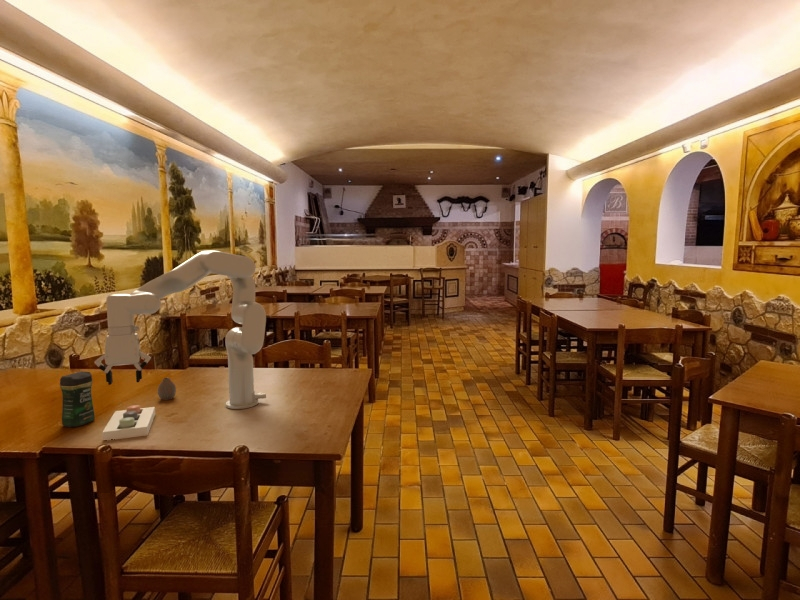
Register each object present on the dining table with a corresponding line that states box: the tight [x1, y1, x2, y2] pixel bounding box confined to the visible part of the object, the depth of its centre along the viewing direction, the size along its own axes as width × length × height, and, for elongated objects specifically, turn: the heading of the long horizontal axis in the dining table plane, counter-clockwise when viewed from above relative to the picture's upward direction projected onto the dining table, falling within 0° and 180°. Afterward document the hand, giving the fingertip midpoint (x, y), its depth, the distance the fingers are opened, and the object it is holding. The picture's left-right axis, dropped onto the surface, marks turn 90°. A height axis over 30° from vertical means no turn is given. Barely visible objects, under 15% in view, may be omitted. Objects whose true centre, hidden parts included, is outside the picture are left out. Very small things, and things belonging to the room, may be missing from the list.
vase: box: [157, 377, 177, 401], centre depth 196 cm, size 7×7×9 cm
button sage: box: [119, 417, 136, 429], centre depth 157 cm, size 4×4×3 cm
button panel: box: [101, 406, 156, 441], centre depth 164 cm, size 13×22×3 cm, turn 22°
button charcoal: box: [123, 411, 139, 420], centre depth 164 cm, size 4×4×3 cm
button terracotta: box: [126, 404, 141, 414], centre depth 170 cm, size 4×4×3 cm
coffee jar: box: [59, 370, 96, 428], centre depth 167 cm, size 10×8×19 cm
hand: (124, 382), depth 156 cm, fingers open, 7 cm apart
